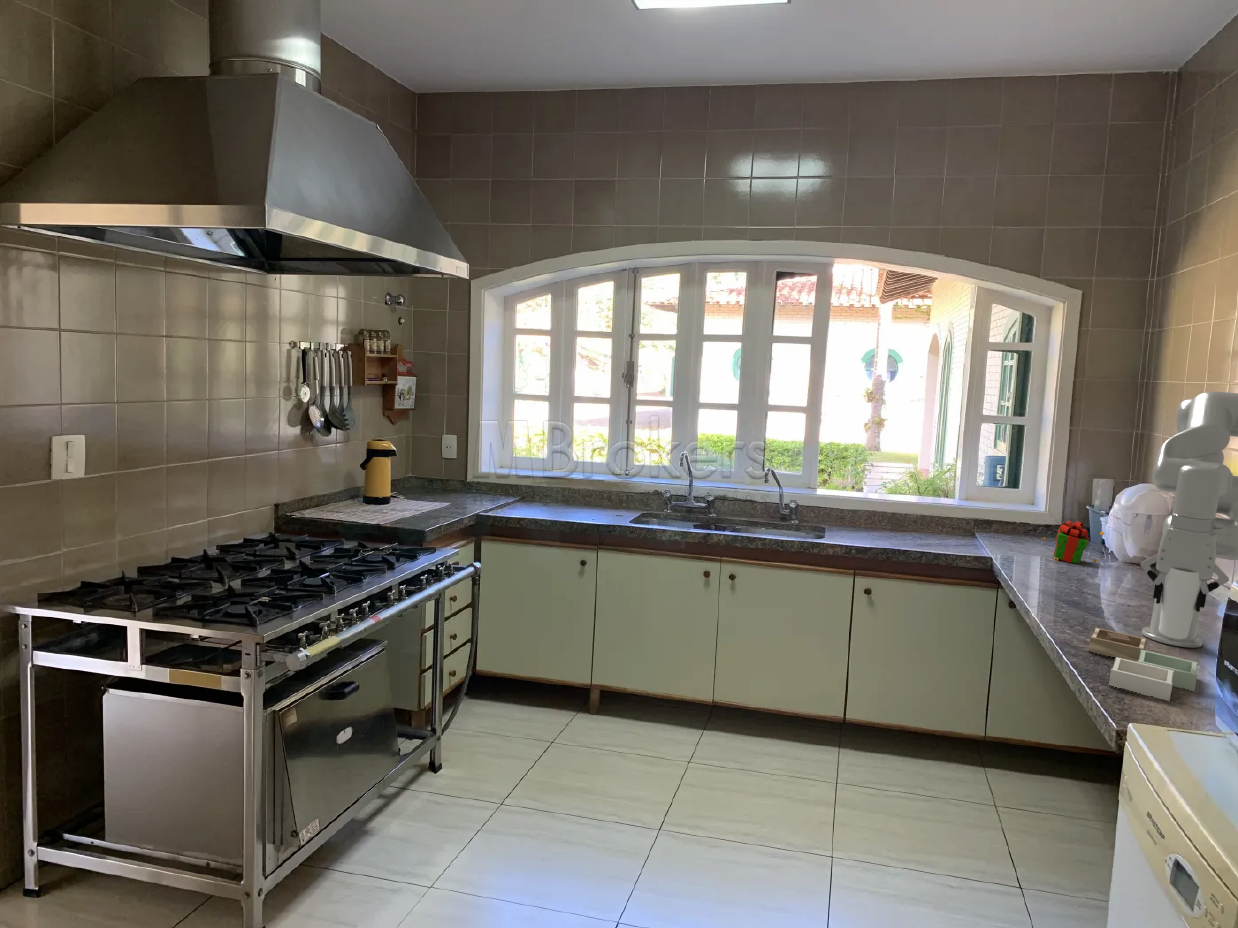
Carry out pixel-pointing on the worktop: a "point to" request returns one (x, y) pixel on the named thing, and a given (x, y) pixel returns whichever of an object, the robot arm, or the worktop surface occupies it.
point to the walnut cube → (1118, 638)
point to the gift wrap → (1071, 542)
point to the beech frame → (1116, 645)
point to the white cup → (1178, 602)
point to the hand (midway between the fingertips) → (1177, 605)
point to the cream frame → (1142, 678)
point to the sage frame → (1173, 668)
